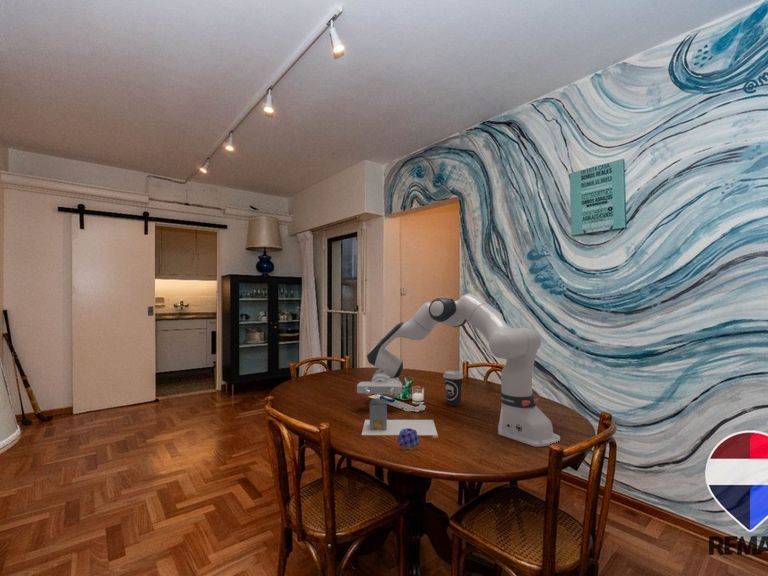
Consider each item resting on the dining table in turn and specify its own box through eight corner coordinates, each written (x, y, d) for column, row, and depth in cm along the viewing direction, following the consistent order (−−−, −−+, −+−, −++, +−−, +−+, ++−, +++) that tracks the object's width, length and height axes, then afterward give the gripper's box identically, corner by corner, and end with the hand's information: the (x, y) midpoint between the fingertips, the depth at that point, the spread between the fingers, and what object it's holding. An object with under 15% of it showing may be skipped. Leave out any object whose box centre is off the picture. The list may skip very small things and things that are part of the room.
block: (373, 425, 142) (373, 414, 142) (383, 425, 142) (383, 414, 142) (373, 428, 138) (373, 418, 138) (383, 428, 138) (383, 418, 138)
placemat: (433, 422, 147) (433, 419, 147) (437, 437, 131) (437, 435, 131) (365, 422, 148) (365, 419, 148) (361, 437, 132) (361, 434, 132)
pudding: (405, 436, 134) (404, 422, 134) (432, 444, 126) (432, 429, 126) (384, 447, 125) (384, 431, 125) (412, 457, 117) (412, 440, 117)
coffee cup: (465, 407, 166) (465, 374, 167) (445, 407, 167) (444, 374, 167) (461, 401, 176) (461, 370, 176) (442, 401, 176) (441, 370, 176)
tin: (370, 424, 143) (370, 398, 144) (387, 424, 143) (386, 398, 143) (369, 430, 137) (369, 403, 137) (386, 430, 137) (386, 403, 137)
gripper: (358, 377, 167) (354, 385, 153) (402, 377, 166) (402, 385, 153) (358, 390, 167) (354, 399, 153) (402, 391, 166) (402, 400, 153)
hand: (378, 392), depth 153 cm, fingers open, 8 cm apart
